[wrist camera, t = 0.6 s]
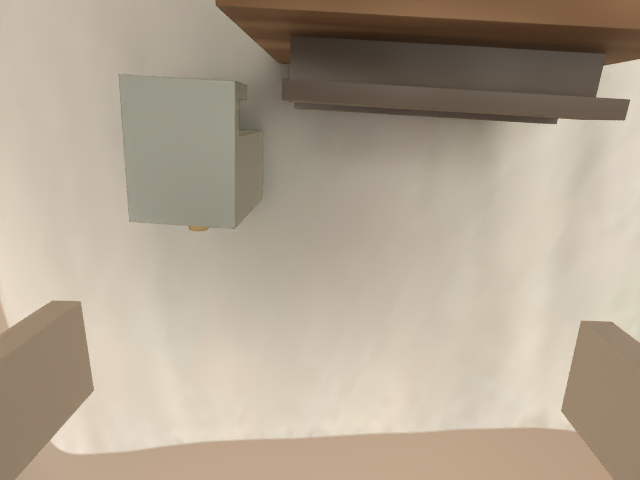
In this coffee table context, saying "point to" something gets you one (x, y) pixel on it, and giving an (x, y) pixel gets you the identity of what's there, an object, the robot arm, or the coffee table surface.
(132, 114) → the grey-green box
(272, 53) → the brown wooden rack
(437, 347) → the coffee table surface
